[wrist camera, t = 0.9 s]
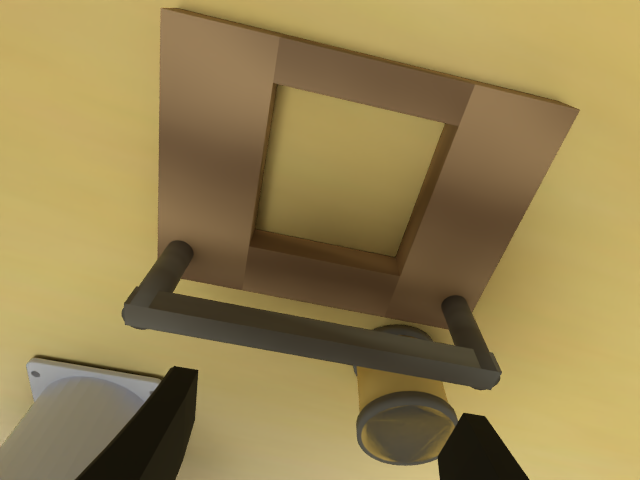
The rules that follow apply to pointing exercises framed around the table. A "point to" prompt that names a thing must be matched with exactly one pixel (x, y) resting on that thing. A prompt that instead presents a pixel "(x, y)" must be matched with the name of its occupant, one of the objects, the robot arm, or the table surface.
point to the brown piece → (320, 258)
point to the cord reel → (402, 412)
